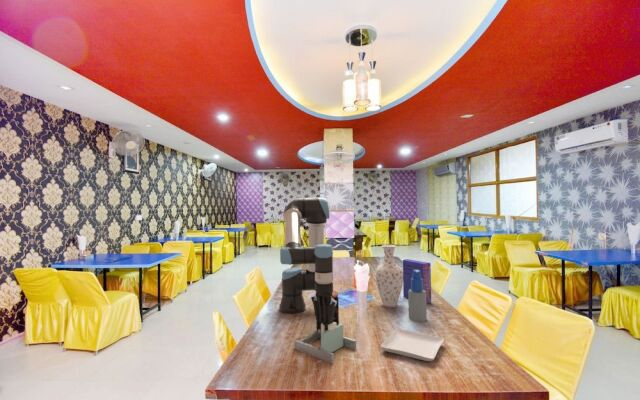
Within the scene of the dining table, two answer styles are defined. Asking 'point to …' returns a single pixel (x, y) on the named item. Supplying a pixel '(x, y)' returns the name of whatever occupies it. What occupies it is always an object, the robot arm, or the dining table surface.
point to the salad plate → (413, 344)
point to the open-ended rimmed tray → (317, 352)
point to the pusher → (332, 337)
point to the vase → (389, 278)
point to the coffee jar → (336, 316)
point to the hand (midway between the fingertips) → (324, 339)
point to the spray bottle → (417, 298)
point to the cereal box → (425, 275)
